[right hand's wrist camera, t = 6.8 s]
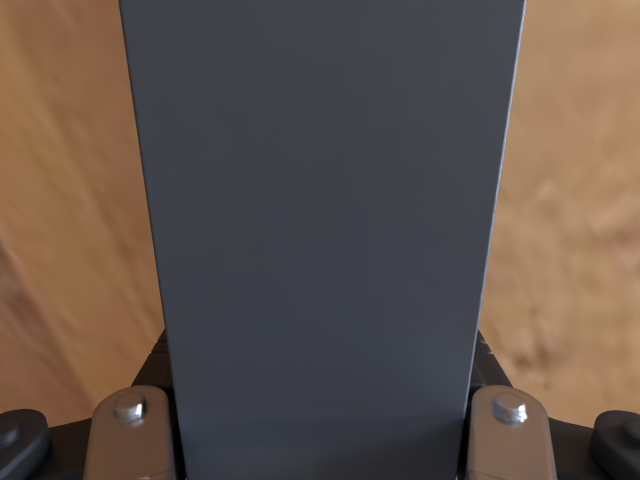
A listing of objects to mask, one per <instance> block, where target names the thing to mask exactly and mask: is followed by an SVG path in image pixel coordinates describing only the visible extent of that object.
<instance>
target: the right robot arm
mask: <svg viewBox="0 0 640 480" xmlns="http://www.w3.org/2000/svg"><path fill="white" fill-rule="evenodd" d="M456 476H457V479H458V480H640V415H639V414H636V413H632V412H627V411H620V410H612V411H606V412H603V413H601V414H600V415H599V416H598V417H597V418H596V421H595V424H594V428H589V427H584V426H580V425H575V424H571V423H566V422H562V421H559V420H555V419H552V418H549V417H548V415H547V412H546V410H545V408H544V407H543V406H542V405H541V403H540V402H538V401H537V400H536V399H535V398H534V397H532V396H531V395H529V394H527V393H525V392H523V391H521V390H519V389H516V388H513V386H512V385H511V383H510V381H509V380H508V378H507V376H506V375H505V373H504V371H503V370H502V368H501V366H500V365H499V363H498V361H497V360H496V358H495V356H494V355H493V354H492V351H491V350H490V348H489V346H488V345H487V344H486V343H485V340H484V338H483V336H482V335H481V333H480V331H479V330H478V331H477V338H476V345H475V351H474V358H473V365H472V371H471V378H470V385H469V392H468V398H467V405H466V412H465V419H464V425H463V432H462V439H461V445H460V452H459V459H458V466H457V472H456ZM185 479H186V471H185V464H184V457H183V450H182V443H181V436H180V429H179V422H178V415H177V408H176V401H175V394H174V387H173V380H172V373H171V366H170V359H169V352H168V345H167V338H166V331H165V329H164V331H163V332H162V334H161V336H160V337H159V339H158V342H157V343H156V344H155V346H154V348H153V349H152V351H151V354H149V356H148V358H147V359H146V361H145V363H144V364H143V366H142V368H141V370H140V371H139V373H138V375H137V376H136V378H135V380H134V381H133V383H132V385H131V386H130V387H127V388H124V389H121V390H119V391H117V392H115V393H113V394H111V395H109V396H108V397H106V398H105V399H104V400H103V401H102V402H101V403H100V404H99V405H98V406H97V407H96V409H95V411H94V412H93V416H92V418H89V419H86V420H82V421H78V422H74V423H69V424H65V425H60V426H56V427H51V428H48V424H47V421H46V418H45V416H44V415H43V414H42V413H41V412H39V411H36V410H32V409H19V410H13V411H8V412H5V413H2V414H0V480H185Z"/></svg>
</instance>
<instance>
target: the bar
mask: <svg viewBox="0 0 640 480" xmlns="http://www.w3.org/2000/svg"><path fill="white" fill-rule="evenodd" d="M118 1H119V8H120V15H121V22H122V29H123V36H124V43H125V50H126V57H127V64H128V71H129V78H130V85H131V92H132V99H133V106H134V113H135V120H136V127H137V134H138V141H139V148H140V155H141V162H142V169H143V176H144V183H145V190H146V197H147V204H148V211H149V218H150V225H151V232H152V240H153V247H154V254H155V261H156V268H157V275H158V282H159V289H160V296H161V303H162V310H163V317H164V324H165V331H166V338H167V345H168V352H169V359H170V366H171V373H172V380H173V387H174V394H175V401H176V408H177V415H178V422H179V429H180V436H181V443H182V450H183V457H184V464H185V471H186V478H187V480H455V479H456V472H457V466H458V459H459V452H460V445H461V439H462V432H463V425H464V419H465V412H466V405H467V398H468V392H469V385H470V378H471V371H472V365H473V358H474V351H475V345H476V338H477V331H478V324H479V318H480V311H481V304H482V298H483V291H484V284H485V277H486V271H487V264H488V257H489V250H490V244H491V237H492V230H493V224H494V217H495V210H496V203H497V197H498V190H499V183H500V177H501V170H502V163H503V156H504V150H505V143H506V136H507V130H508V123H509V116H510V109H511V103H512V96H513V89H514V82H515V76H516V69H517V62H518V56H519V49H520V42H521V35H522V29H523V22H524V15H525V9H526V2H527V0H118Z"/></svg>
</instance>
